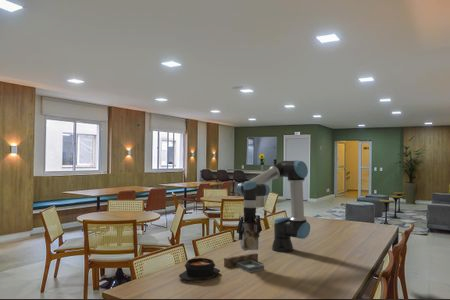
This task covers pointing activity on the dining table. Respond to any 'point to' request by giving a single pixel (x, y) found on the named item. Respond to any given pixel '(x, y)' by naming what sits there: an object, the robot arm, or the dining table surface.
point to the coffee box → (250, 236)
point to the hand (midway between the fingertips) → (249, 244)
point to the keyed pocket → (249, 265)
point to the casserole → (199, 269)
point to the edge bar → (240, 259)
